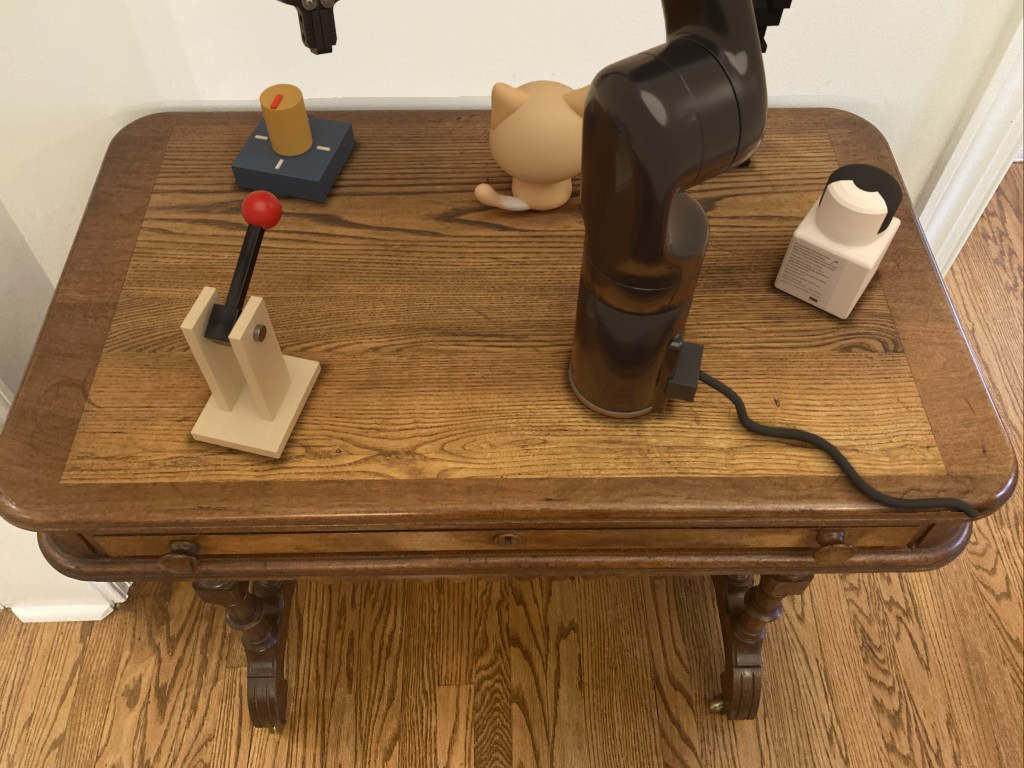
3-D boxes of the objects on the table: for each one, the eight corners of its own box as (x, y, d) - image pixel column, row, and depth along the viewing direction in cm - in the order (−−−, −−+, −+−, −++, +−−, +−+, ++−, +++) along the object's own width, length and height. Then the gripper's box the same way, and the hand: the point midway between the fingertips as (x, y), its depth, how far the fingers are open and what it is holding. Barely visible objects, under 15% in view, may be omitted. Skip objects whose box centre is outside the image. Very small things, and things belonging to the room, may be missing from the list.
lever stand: (241, 352, 81) (203, 257, 70) (321, 369, 79) (294, 275, 69) (194, 439, 75) (144, 350, 64) (279, 459, 74) (242, 372, 63)
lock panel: (355, 144, 98) (351, 121, 95) (323, 203, 92) (318, 180, 90) (274, 130, 99) (267, 107, 97) (237, 187, 94) (230, 164, 91)
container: (803, 242, 90) (844, 142, 79) (874, 274, 87) (925, 175, 76) (771, 287, 86) (809, 188, 75) (844, 322, 83) (894, 224, 73)
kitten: (611, 166, 96) (626, 47, 84) (616, 230, 90) (634, 111, 78) (478, 165, 96) (474, 45, 84) (475, 228, 90) (470, 109, 78)
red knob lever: (256, 196, 72) (241, 180, 69) (292, 203, 72) (278, 187, 68) (213, 343, 70) (195, 334, 67) (249, 351, 69) (233, 342, 66)
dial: (280, 127, 95) (267, 78, 90) (318, 133, 94) (307, 84, 89) (265, 153, 92) (251, 104, 87) (304, 159, 92) (292, 110, 87)
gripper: (216, -175, 63) (261, 70, 72) (383, -180, 68) (405, 49, 77) (193, -172, 68) (238, 55, 78) (349, -177, 74) (373, 36, 83)
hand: (321, 52), depth 77 cm, fingers closed
